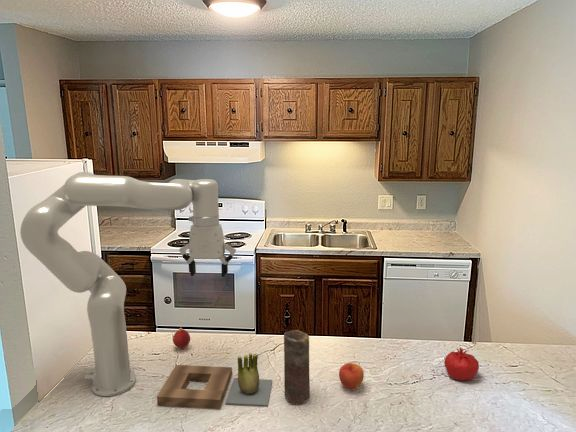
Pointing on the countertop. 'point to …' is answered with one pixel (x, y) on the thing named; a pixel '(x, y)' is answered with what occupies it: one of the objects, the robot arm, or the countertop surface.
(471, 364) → the pomegranate
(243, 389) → the fennel bulb
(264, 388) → the mat
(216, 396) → the pocket holder
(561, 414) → the countertop surface
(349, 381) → the apple
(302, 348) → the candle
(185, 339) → the red ovoid
